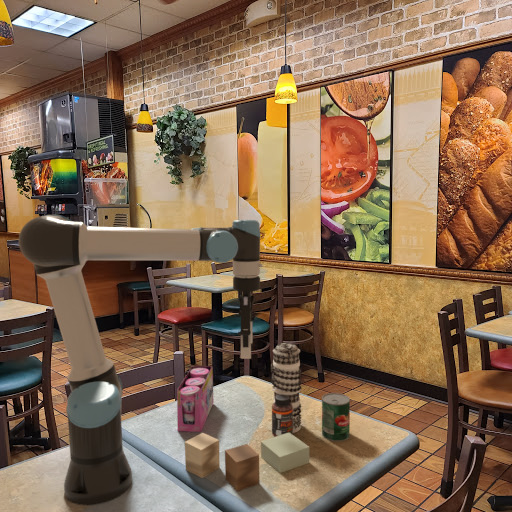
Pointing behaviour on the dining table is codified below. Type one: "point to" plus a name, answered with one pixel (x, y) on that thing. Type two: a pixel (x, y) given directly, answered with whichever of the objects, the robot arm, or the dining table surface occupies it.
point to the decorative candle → (288, 378)
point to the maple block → (202, 455)
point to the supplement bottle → (282, 416)
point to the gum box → (195, 399)
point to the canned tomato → (335, 417)
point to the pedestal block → (284, 452)
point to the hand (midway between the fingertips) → (246, 350)
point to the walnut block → (242, 467)
